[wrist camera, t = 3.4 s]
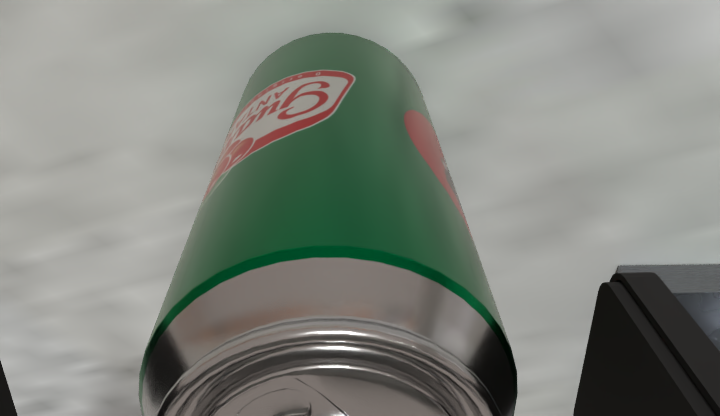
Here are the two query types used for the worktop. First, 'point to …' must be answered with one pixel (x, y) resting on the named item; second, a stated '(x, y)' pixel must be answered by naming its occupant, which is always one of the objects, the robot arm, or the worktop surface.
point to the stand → (692, 292)
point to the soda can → (329, 258)
